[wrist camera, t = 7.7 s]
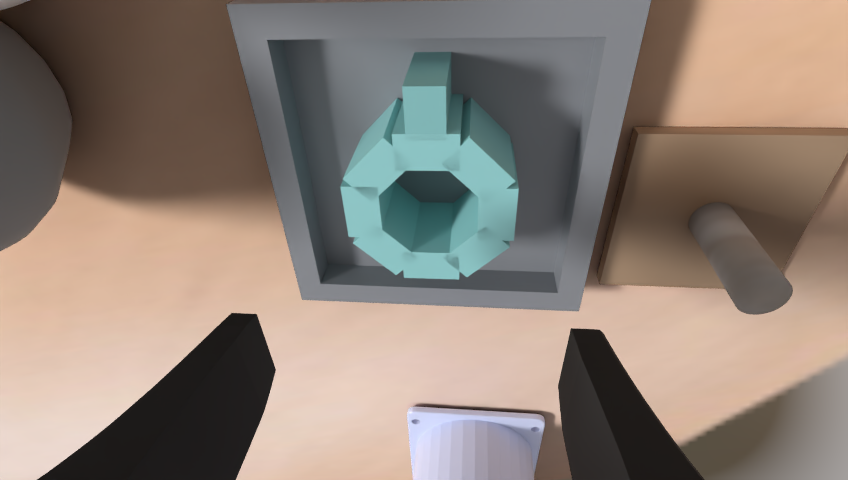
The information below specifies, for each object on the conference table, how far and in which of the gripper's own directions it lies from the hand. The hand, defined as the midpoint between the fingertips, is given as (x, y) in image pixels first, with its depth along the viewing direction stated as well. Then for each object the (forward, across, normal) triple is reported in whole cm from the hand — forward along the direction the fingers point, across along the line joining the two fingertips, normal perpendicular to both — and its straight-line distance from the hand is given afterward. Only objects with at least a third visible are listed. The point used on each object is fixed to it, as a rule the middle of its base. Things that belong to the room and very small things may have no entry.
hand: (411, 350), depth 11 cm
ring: (+9, 0, 0) cm, 9 cm away
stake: (+9, -10, +2) cm, 14 cm away
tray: (+9, 0, 0) cm, 9 cm away
